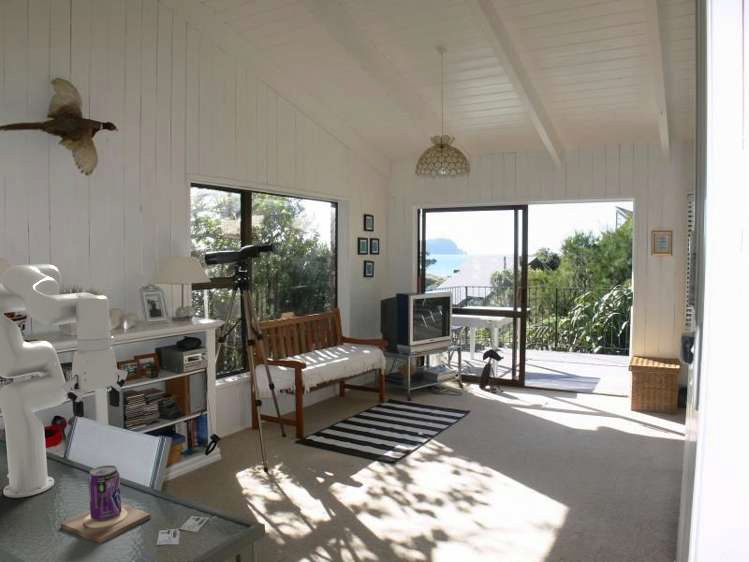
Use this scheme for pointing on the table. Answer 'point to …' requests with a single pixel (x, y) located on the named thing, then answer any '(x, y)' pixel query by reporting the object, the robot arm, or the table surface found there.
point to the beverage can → (104, 493)
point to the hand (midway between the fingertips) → (97, 411)
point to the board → (105, 524)
